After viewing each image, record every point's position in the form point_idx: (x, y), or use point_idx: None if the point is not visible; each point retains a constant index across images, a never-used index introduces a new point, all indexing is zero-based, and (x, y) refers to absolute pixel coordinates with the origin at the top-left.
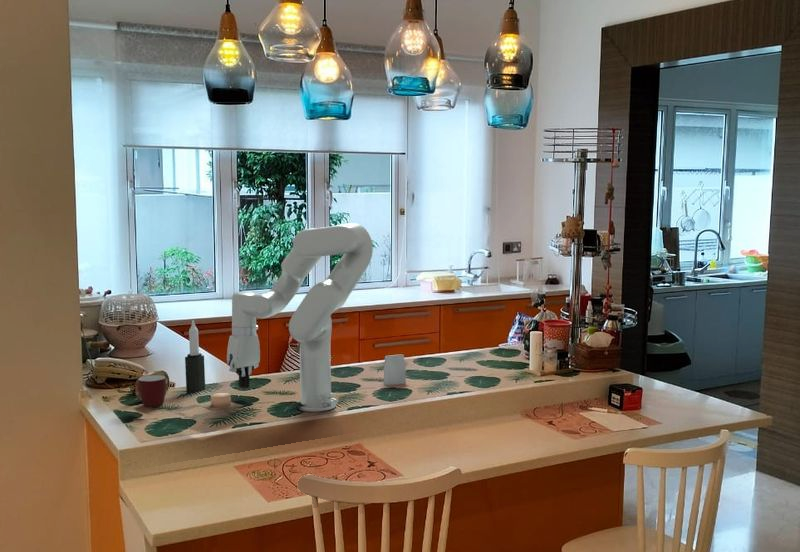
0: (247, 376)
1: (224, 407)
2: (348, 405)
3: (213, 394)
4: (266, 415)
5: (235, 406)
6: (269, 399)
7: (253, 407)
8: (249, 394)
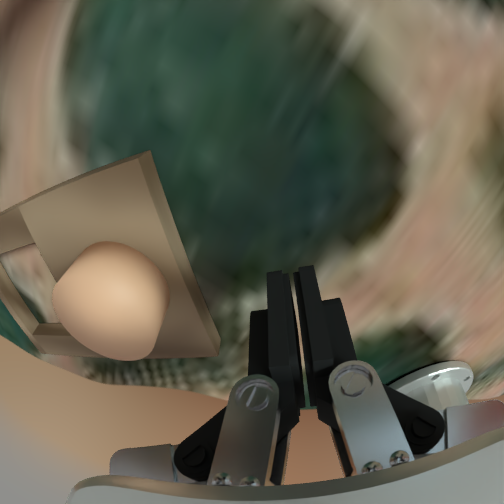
0: (316, 405)
1: None
2: None
3: (63, 282)
4: None
5: (177, 344)
6: (419, 258)
7: None
8: (415, 79)
